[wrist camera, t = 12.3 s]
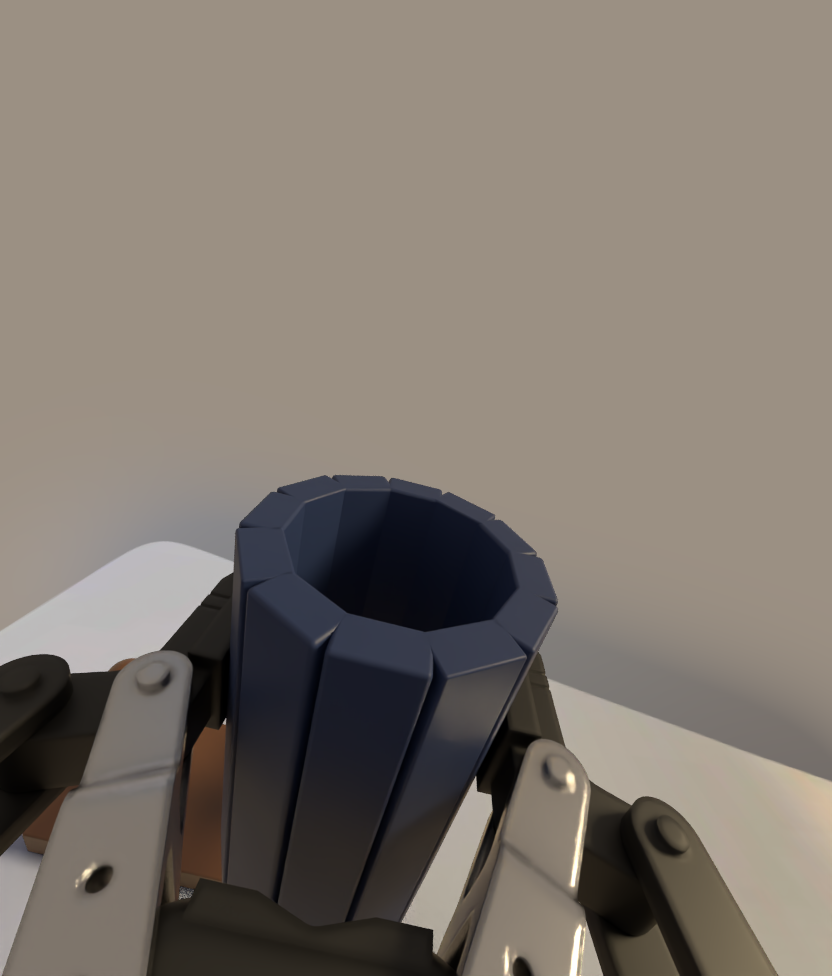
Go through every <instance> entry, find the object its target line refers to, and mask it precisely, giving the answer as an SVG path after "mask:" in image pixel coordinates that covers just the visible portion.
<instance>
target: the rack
mask: <svg viewBox="0 0 832 976" xmlns="http://www.w3.org/2000/svg"><path fill="white" fill-rule="evenodd" d="M134 659H135V658H130V659H125V660H122V661H120V662H118V663H116V664H115V665H114V666H113V667H111V668H110V670H109V671H117V670H122V669H123V668H124V667H125V666H126V665H127V664H128V663H130V662H131V661H133V660H134ZM225 736H226V725H224V724H222V725H221V727H220V729H219V730H216V729H212V728H208V727H205V728H204V729H203V731H202V733H201V734H200V736H199V738H198V739H197V741H196V743H195V744H194V746H193V757H192V766H191V775H190V784H189V793H188V802H187V810H186V819H185V828H184V837H183V848H182V864H181V879H180V886H182V887H187V888H191V889H195V888H196V885H197V883H198V881H199V879H200V878H203V879H208V880H212V881H217V882H221V883H222V859H221V817H222V797H223V776H224V756H225ZM78 786H79V785H74V786H68V787H67V788H66V789H65V790H64V791H63V792H62V793H61V794H60V795H59V796H58V797H57V798H56V799H55V800H54V801H53V802H52V803H51V804H50V805H49V806H48V807H47V809H46V810H45V811H44V812H43V813H42V814H41V815H40V816H39V817H38V818H37V819H36V820H35V821H34V822H33V823H32V824H31V825H30V826H29V827H28V828H27V829H26V830H25V831H24V832H23V834H22V836H23V839H24V842H25V845H26V847H27V850H28V851H31V852H35V853H39V854H44V853H45V850H46V847H47V844H48V841H49V838H50V836H51V833H52V830H53V827H54V824H55V821H56V818H57V815H58V813H59V810H60V807H61V805H62V803H63V801H64V799H65V797H66V795H67V794H68V792H69V791H70V790H72V789H75V788H77V787H78Z"/></svg>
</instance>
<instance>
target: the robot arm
mask: <svg viewBox="0 0 832 976" xmlns="http://www.w3.org/2000/svg"><path fill="white" fill-rule="evenodd" d="M233 574H234V572H233V573H232V574H230V575H228V576H226V577H225V578H223V579H222V580H221V581H220V582H219V583H218V584H217V585H216V587H215V588H214V589H213V590H212V591H211V594H210V595H208V596H207V597H206V598H205V599H204V600H203V602H202V603H201V605H200V606H198V607H197V608H196V610H195V611H194V612H193V613H192V614H191V615H190V617H189V618H188V619H187V620H186V621H185V622H184V623H183V625H182V626H181V627H180V628H179V629H178V630H177V632H176V633H175V634H174V635H173V636H172V637H171V638H170V640H169V641H168V642H167V643H166V644H165V645H164V647H163V648H162V649H161V650H160V651H156V652H151V653H148V654H145V655H143V656H140V657H138V658H136V659H134V660H133V661H131V662H130V663H128V664H127V665H126V666H125V667H124V668H123V669H122V670H117V671H108V672H90V673H72V674H70V669H69V665H68V663H67V662H66V661H65V660H64V659H62V658H61V657H58V656H55V655H48V654H39V655H31V656H26V657H22V658H19V659H16V660H13V661H10V662H8V663H6V664H4V665H2V666H0V856H1V855H2V854H3V853H4V852H5V851H6V850H7V849H8V848H9V847H10V846H11V845H12V844H13V843H14V842H15V841H16V839H17V838H18V837H19V836H20V835H21V834H22V833H23V832H24V831H25V830H26V829H27V828H28V827H29V826H30V825H31V824H32V823H33V822H34V821H35V820H36V819H37V818H38V817H39V816H40V815H41V814H42V813H43V812H44V811H45V810H46V809H47V807H48V806H49V805H50V804H51V803H52V802H53V801H54V800H55V799H56V798H57V797H58V796H59V795H60V794H61V793H62V792H63V791H64V790H65V789H66V788H67V787H68V786H74V785H79V786H78V787H77V788H75V789H72V790H70V791H69V792H68V794H67V795H66V797H65V799H64V801H63V803H62V805H61V807H60V810H59V813H58V815H57V818H56V821H55V824H54V827H53V830H52V833H51V836H50V838H49V841H48V844H47V847H46V850H45V853H44V856H43V859H42V862H41V864H40V867H39V870H38V873H37V876H36V879H35V882H34V885H33V888H32V890H31V893H30V896H29V899H28V902H27V905H26V908H25V911H24V914H23V916H22V919H21V922H20V925H19V928H18V931H17V934H16V937H15V940H14V942H13V945H12V948H11V951H10V954H9V957H8V960H7V963H6V966H5V968H4V971H3V974H2V976H580V975H581V966H582V957H583V948H584V939H585V928H586V922H587V925H588V928H589V931H590V934H591V937H592V941H593V944H594V947H595V950H596V953H597V956H598V960H599V963H600V966H601V969H602V972H603V976H778V974H777V973H776V971H775V969H774V968H773V966H772V964H771V962H770V961H769V959H768V957H767V955H766V954H765V952H764V950H763V948H762V947H761V945H760V943H759V941H758V940H757V938H756V936H755V934H754V933H753V931H752V929H751V927H750V926H749V924H748V922H747V920H746V919H745V917H744V915H743V913H742V912H741V910H740V908H739V906H738V905H737V903H736V901H735V900H734V898H733V896H732V894H731V893H730V891H729V889H728V887H727V886H726V884H725V882H724V880H723V879H722V877H721V875H720V873H719V872H718V870H717V868H716V866H715V865H714V863H713V861H712V859H711V858H710V856H709V854H708V852H707V851H706V849H705V847H704V845H703V844H702V842H701V840H700V838H699V837H698V835H697V834H696V832H695V831H694V829H693V828H692V827H691V825H690V824H689V823H688V822H687V821H686V820H685V818H684V817H683V816H682V815H681V814H679V813H678V812H677V811H676V810H675V809H674V808H672V807H671V806H670V805H668V804H667V803H665V802H663V801H661V800H659V799H656V798H654V797H648V796H647V797H641V798H638V799H637V800H636V801H635V802H634V803H633V805H632V806H631V805H630V804H628V803H626V802H624V801H623V800H621V799H619V798H617V797H616V796H614V795H612V794H610V793H609V792H607V791H605V790H603V789H602V788H600V787H599V786H597V785H595V784H594V783H593V782H591V781H590V780H589V779H588V776H587V773H586V771H585V769H584V767H583V766H582V764H581V763H580V761H579V760H578V759H577V758H576V756H575V755H574V754H573V753H572V752H571V751H569V750H568V749H567V748H566V747H565V744H564V740H563V737H562V733H561V729H560V725H559V722H558V718H557V714H556V710H555V707H554V703H553V699H552V695H551V692H550V690H549V684H548V680H547V677H546V676H545V669H544V665H543V662H542V658H541V655H540V654H539V652H538V653H537V655H536V657H535V659H534V661H533V663H532V665H531V667H530V669H529V671H528V673H527V675H526V677H525V679H524V681H523V683H522V685H521V687H520V688H519V690H518V692H517V694H516V696H515V698H514V700H513V702H512V704H511V706H510V708H509V710H508V712H507V714H506V716H505V718H504V720H503V722H502V724H501V726H500V728H499V730H498V732H497V734H496V736H495V738H494V740H493V742H492V744H491V746H490V748H489V750H488V752H487V754H486V756H485V758H484V760H483V762H482V764H481V766H480V768H479V770H478V772H477V774H476V780H477V791H478V792H482V793H486V794H491V795H492V807H493V810H492V812H491V814H490V816H489V818H488V820H487V823H486V826H485V829H484V832H483V835H482V837H481V840H480V843H479V846H478V849H477V851H476V854H475V857H474V860H473V863H472V866H471V868H470V871H469V874H468V877H467V880H466V883H465V885H464V888H463V891H462V894H461V897H460V899H459V902H458V905H457V907H456V910H455V912H454V915H453V917H452V919H451V921H450V923H449V926H448V928H447V930H446V933H445V935H444V937H443V940H442V942H441V945H440V947H439V950H438V953H437V955H436V954H435V953H434V952H433V930H431V929H427V928H422V927H418V926H413V925H409V924H404V923H400V922H395V921H391V920H386V919H382V918H377V917H375V918H368V919H362V920H356V921H349V922H343V923H336V924H330V925H323V926H311V925H309V924H307V923H305V922H303V921H302V920H301V919H299V918H298V917H296V916H295V915H293V914H292V913H290V912H289V911H287V910H286V909H284V908H283V907H281V906H280V905H278V904H277V903H275V902H274V901H272V900H271V899H269V898H268V897H266V896H265V895H263V894H262V893H260V892H259V891H257V890H253V889H248V888H244V887H239V886H235V885H230V884H226V883H221V882H217V881H212V880H208V879H203V878H200V879H199V881H198V883H197V885H196V888H195V890H194V892H193V894H192V897H191V898H185V899H180V900H179V890H180V879H181V864H182V848H183V837H184V828H185V819H186V810H187V802H188V793H189V784H190V775H191V766H192V757H193V746H194V744H195V743H196V741H197V739H198V738H199V736H200V734H201V733H202V731H203V729H204V728H205V727H208V728H212V729H216V730H219V729H220V727H221V725H222V724H223V722H224V720H225V718H226V715H227V695H228V675H229V655H230V634H231V614H232V594H233ZM579 902H580V903H579Z"/></svg>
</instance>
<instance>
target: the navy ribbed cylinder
mask: <svg viewBox="0 0 832 976" xmlns="http://www.w3.org/2000/svg"><path fill="white" fill-rule="evenodd" d="M494 519H495V515H494V514H492V513H490V512H488V511H486V510H484V509H482V508H480V507H478V506H476V505H474V504H472V503H470V502H468V501H466V500H464V499H462V498H460V497H458V496H456V495H454V494H452V493H450V492H447V493H445V494H443V495H442V491H441V490H439V489H436V488H431V487H428V486H423V485H420V484H416V483H412V482H408V481H404V480H400V479H395V478H391V479H390V480H389V482H388V481H387V480H386V479H385V477H382V476H350V475H349V476H348V475H335V476H333V477H332V478H330V477H328V476H326V475H324V476H320V477H317V478H313V479H309V480H305V481H302V482H298V483H294V484H291V485H287V486H283V487H279V488H278V489H277V492H271V493H270V494H269V495H268V496H267V497H266V498H264V499H263V500H262V502H260V504H258V505H257V506H256V507H255V508H254V509H253V510H252V511H251V512H250V513H249V514H248V515H247V516H246V517H245V518H244V519H243V520H242V521H241V522H240V524H239V528H238V529H237V530H236V533H235V554H234V574H233V594H232V614H231V634H230V655H229V675H228V695H227V715H226V736H225V756H224V776H223V797H222V817H221V859H222V883H226V884H230V885H235V886H239V887H244V888H248V889H253V890H257V891H259V892H260V893H262V894H263V895H265V896H266V897H268V898H269V899H271V900H272V901H274V902H275V903H277V904H278V905H280V906H281V907H283V908H284V909H286V910H287V911H289V912H290V913H292V914H293V915H295V916H296V917H298V918H299V919H301V920H302V921H303V922H305V923H307V924H309V925H311V926H323V925H330V924H336V923H343V922H349V921H356V920H362V919H368V918H375V917H377V918H382V919H386V920H391V921H395V922H400V923H401V922H402V920H403V918H404V916H405V914H406V912H407V910H408V908H409V907H410V905H411V903H412V901H413V899H414V897H415V895H416V893H417V891H418V889H419V888H420V886H421V884H422V882H423V880H424V878H425V876H426V874H427V872H428V870H429V868H430V866H431V864H432V862H433V860H434V858H435V856H436V854H437V852H438V850H439V848H440V846H441V844H442V842H443V840H444V838H445V836H446V834H447V832H448V830H449V828H450V826H451V824H452V822H453V820H454V818H455V816H456V814H457V812H458V810H459V808H460V806H461V804H462V802H463V800H464V798H465V796H466V794H467V792H468V790H469V788H470V786H471V784H472V782H473V780H474V778H475V776H476V774H477V772H478V770H479V768H480V766H481V764H482V762H483V760H484V758H485V756H486V754H487V752H488V750H489V748H490V746H491V744H492V742H493V740H494V738H495V736H496V734H497V732H498V730H499V728H500V726H501V724H502V722H503V720H504V718H505V716H506V714H507V712H508V710H509V708H510V706H511V704H512V702H513V700H514V698H515V696H516V694H517V692H518V690H519V688H520V687H521V685H522V683H523V681H524V679H525V677H526V675H527V673H528V671H529V669H530V667H531V665H532V663H533V661H534V659H535V657H536V655H537V653H538V651H539V649H540V646H541V645H542V643H543V640H544V638H545V637H546V634H547V633H548V631H549V629H550V627H551V625H552V623H553V621H554V619H555V617H556V615H557V613H558V608H557V607H556V605H557V603H558V599H557V596H556V594H555V591H554V589H553V586H552V583H551V581H550V578H549V575H548V573H547V570H546V567H545V565H544V562H543V560H542V559H541V558H538V557H536V551H535V550H534V549H533V548H531V547H530V546H529V545H528V544H527V543H526V542H525V541H524V540H523V539H522V538H520V537H519V536H518V535H517V534H516V533H515V532H514V531H513V530H512V529H511V528H509V527H508V526H507V525H506V524H505V523H504V522H503V521H501V520H494Z"/></svg>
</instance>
